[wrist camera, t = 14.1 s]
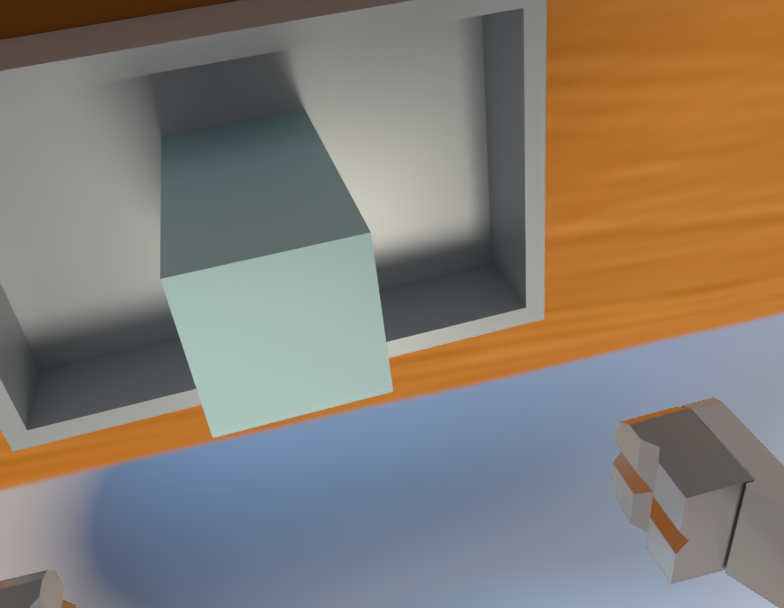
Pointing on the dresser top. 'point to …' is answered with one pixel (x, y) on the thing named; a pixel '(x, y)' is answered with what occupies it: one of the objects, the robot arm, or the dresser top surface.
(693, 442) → the robot arm
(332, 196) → the teal block
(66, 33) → the grey tray
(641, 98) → the dresser top surface
